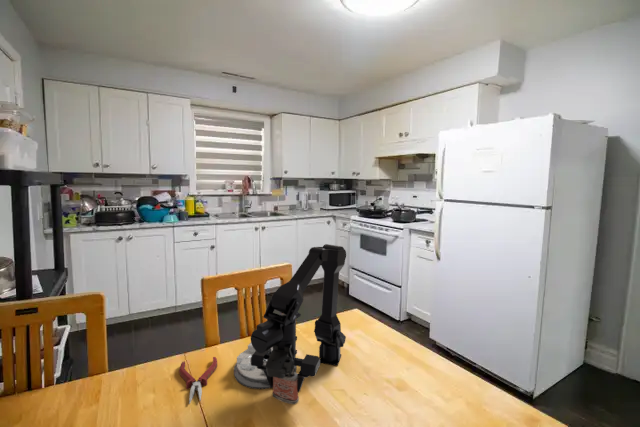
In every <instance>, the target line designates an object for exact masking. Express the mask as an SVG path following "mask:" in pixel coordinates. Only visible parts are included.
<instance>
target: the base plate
mask: <svg viewBox="0 0 640 427" xmlns="http://www.w3.org/2000/svg"><path fill="white" fill-rule="evenodd" d="M294 367H295V372H296V373H297V367H298V366H294ZM233 376H234V379H235V380H236V381H237V383H238V384H240V385H242V386H243V387H246V388H247V389H248V388H249V389H253V390H268V389H273V386H272V387H270V385H269V382H253V381H249V380H246V379H244V378H243V377H241V376H240V375H239V373H238V371H237V362H236V363H235V365H234V366H233Z"/></svg>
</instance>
